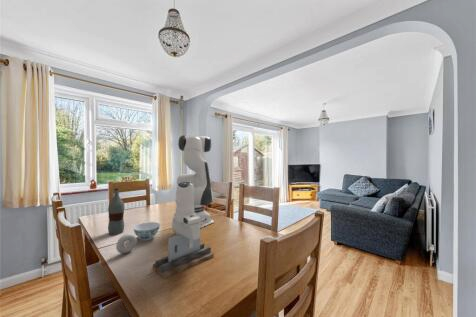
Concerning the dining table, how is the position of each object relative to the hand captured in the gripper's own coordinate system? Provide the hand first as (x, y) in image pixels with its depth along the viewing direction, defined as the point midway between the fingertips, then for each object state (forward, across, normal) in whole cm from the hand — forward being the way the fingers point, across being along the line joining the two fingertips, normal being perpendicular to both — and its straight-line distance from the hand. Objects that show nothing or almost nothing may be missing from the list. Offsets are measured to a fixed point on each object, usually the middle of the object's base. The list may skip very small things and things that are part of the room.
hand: (184, 244), depth 95 cm
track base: (+9, 0, 0) cm, 9 cm away
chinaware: (+9, -42, -2) cm, 43 cm away
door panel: (+7, 0, 0) cm, 7 cm away
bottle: (+9, -66, -13) cm, 68 cm away
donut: (+9, -30, -17) cm, 36 cm away
